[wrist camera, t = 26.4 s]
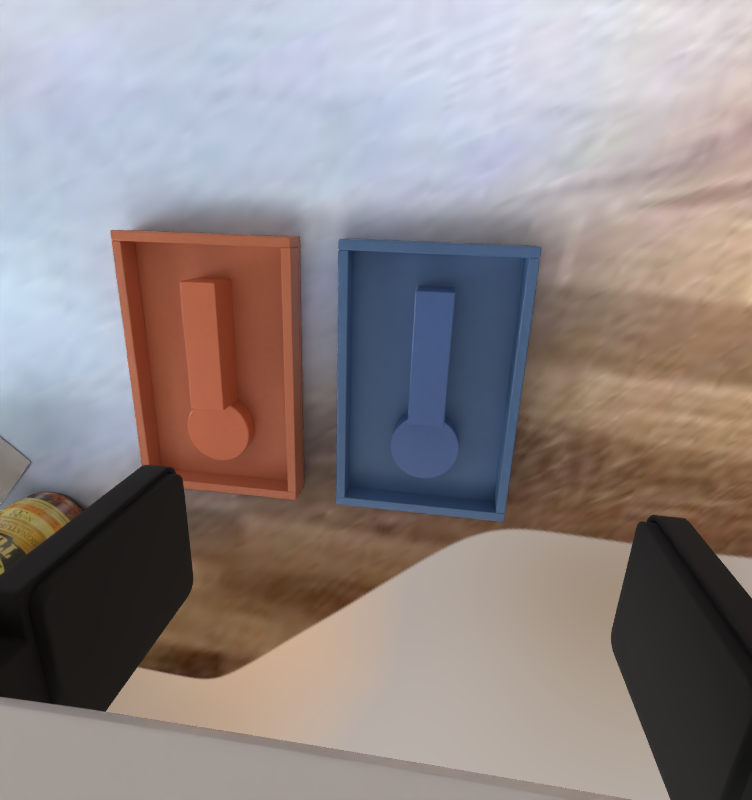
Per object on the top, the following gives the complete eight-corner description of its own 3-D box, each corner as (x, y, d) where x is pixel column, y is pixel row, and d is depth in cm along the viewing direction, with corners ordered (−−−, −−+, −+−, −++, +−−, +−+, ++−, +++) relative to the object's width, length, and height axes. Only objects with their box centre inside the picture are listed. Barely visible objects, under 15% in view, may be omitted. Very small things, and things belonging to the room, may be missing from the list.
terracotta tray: (129, 230, 32) (109, 230, 30) (300, 236, 30) (290, 237, 28) (159, 471, 37) (144, 484, 35) (304, 486, 36) (296, 500, 34)
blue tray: (345, 238, 30) (338, 238, 28) (535, 245, 29) (541, 246, 27) (342, 490, 36) (336, 504, 34) (500, 506, 34) (504, 521, 32)
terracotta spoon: (182, 276, 32) (161, 280, 29) (248, 279, 31) (232, 283, 29) (198, 450, 36) (181, 465, 33) (256, 456, 35) (243, 471, 33)
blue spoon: (399, 285, 30) (395, 289, 28) (473, 288, 29) (475, 293, 27) (390, 467, 34) (386, 483, 32) (455, 473, 33) (456, 490, 31)
